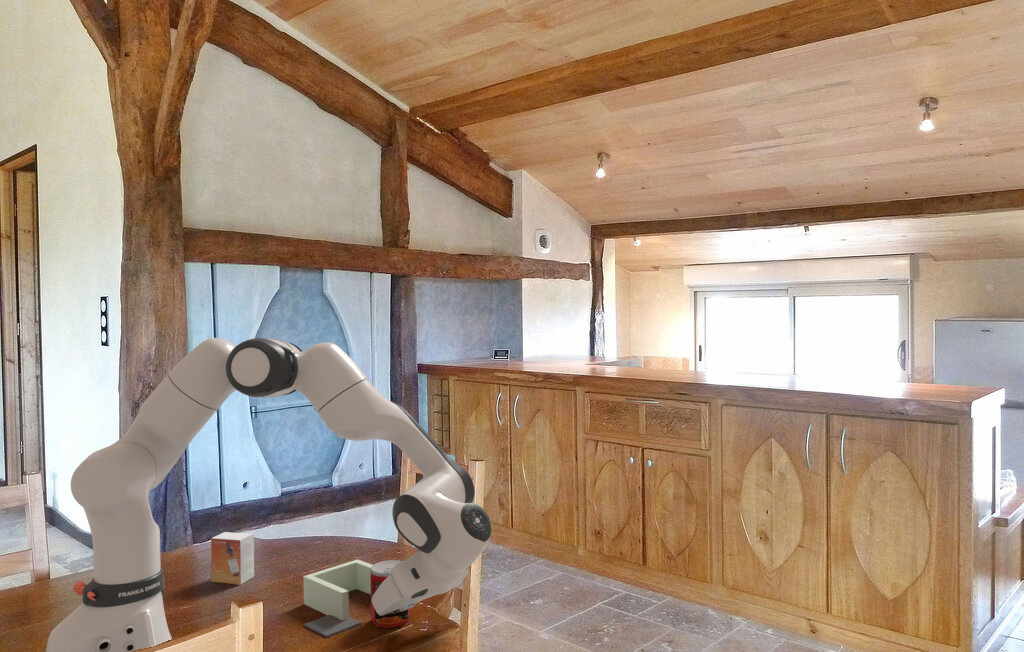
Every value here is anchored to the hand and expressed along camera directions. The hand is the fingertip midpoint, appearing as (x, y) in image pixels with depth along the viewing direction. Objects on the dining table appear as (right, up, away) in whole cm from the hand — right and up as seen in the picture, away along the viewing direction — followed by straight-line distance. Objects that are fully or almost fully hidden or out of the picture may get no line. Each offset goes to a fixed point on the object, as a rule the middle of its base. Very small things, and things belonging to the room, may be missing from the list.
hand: (404, 606), depth 143 cm
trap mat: (-15, -4, +2) cm, 15 cm away
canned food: (-3, -4, +3) cm, 7 cm away
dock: (-13, -4, +12) cm, 18 cm away
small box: (-45, -5, +28) cm, 53 cm away
